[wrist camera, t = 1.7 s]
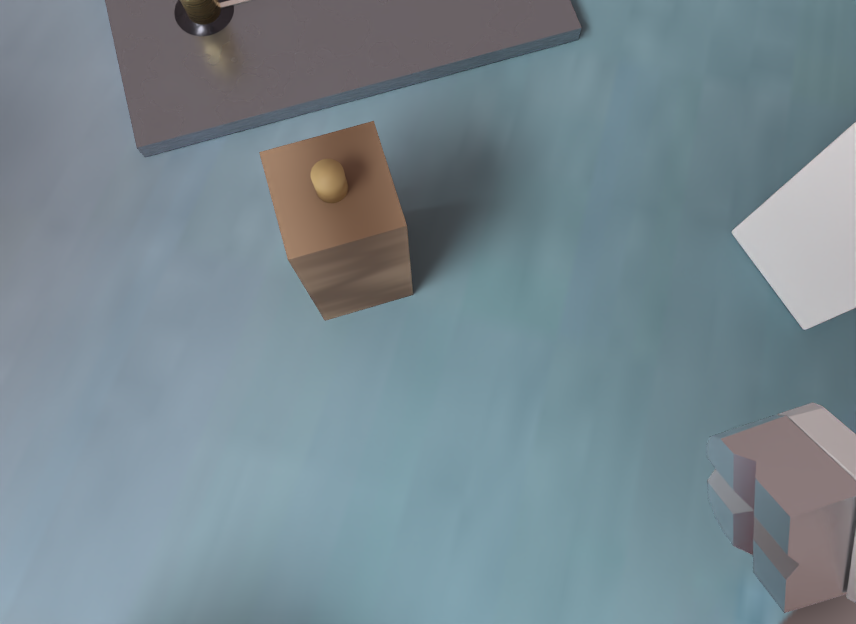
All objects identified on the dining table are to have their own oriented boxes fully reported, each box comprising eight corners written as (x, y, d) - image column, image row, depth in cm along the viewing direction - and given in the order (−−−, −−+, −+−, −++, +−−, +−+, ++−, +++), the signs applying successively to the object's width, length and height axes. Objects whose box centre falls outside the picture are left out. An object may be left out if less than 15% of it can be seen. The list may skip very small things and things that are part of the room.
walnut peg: (325, 320, 34) (281, 248, 24) (302, 237, 35) (251, 136, 25) (413, 294, 34) (405, 212, 24) (387, 213, 35) (371, 103, 25)
